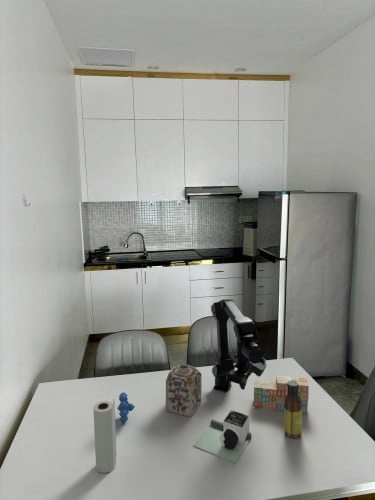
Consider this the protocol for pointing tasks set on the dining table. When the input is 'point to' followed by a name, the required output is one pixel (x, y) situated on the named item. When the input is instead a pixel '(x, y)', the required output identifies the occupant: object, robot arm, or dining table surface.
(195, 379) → the decorative jar
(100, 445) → the paper towel roll
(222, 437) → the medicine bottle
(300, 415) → the sauce bottle
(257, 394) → the stack of blocks
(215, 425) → the strip
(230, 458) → the pale green flat panel
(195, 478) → the dining table surface
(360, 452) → the dining table surface
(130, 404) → the grapes
